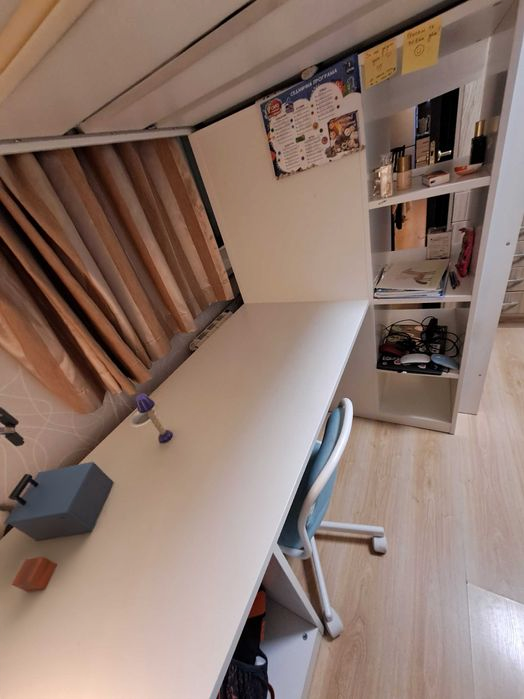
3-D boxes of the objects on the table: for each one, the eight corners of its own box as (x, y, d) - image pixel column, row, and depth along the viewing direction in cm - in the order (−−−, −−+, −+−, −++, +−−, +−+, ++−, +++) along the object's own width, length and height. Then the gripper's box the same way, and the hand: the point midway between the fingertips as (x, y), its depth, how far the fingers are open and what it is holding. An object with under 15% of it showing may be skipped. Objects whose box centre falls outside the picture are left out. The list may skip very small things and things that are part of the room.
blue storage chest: (35, 540, 71) (9, 524, 66) (64, 491, 81) (43, 473, 76) (91, 532, 68) (68, 514, 64) (113, 482, 79) (95, 463, 74)
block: (26, 592, 61) (11, 584, 59) (40, 567, 65) (25, 558, 62) (44, 589, 60) (29, 582, 58) (57, 564, 64) (43, 556, 62)
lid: (6, 524, 66) (-12, 513, 63) (40, 474, 76) (26, 462, 74) (68, 513, 64) (52, 502, 61) (95, 463, 74) (83, 451, 71)
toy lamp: (163, 430, 90) (136, 392, 81) (176, 429, 89) (150, 390, 80) (157, 443, 86) (128, 404, 77) (170, 442, 85) (142, 403, 76)
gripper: (-38, 391, 63) (15, 437, 72) (-106, 445, 51) (-32, 493, 60) (-10, 384, 62) (41, 432, 71) (-72, 437, 50) (-2, 487, 59)
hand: (7, 460), depth 66 cm, fingers open, 8 cm apart
